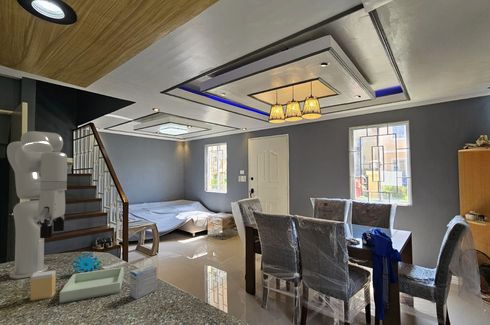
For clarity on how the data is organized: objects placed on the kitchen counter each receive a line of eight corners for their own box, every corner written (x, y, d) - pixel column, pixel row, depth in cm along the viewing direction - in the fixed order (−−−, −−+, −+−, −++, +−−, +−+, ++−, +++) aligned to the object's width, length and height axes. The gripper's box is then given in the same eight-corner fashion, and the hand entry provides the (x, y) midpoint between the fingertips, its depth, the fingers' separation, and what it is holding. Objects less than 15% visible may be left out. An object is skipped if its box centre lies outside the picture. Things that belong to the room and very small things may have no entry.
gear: (74, 275, 98) (73, 253, 104) (70, 283, 100) (69, 261, 106) (104, 270, 106) (101, 251, 112) (99, 278, 108) (97, 258, 114)
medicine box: (149, 287, 91) (149, 264, 91) (156, 290, 88) (157, 266, 88) (129, 296, 84) (129, 271, 84) (136, 299, 82) (136, 274, 82)
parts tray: (73, 283, 95) (73, 274, 95) (124, 275, 102) (124, 266, 102) (59, 303, 80) (59, 292, 80) (119, 292, 87) (119, 282, 87)
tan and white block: (34, 295, 85) (35, 273, 86) (55, 292, 87) (55, 270, 88) (30, 300, 82) (30, 277, 82) (51, 297, 84) (52, 274, 85)
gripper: (52, 185, 93) (51, 229, 93) (27, 188, 77) (26, 242, 76) (74, 184, 96) (74, 228, 95) (55, 187, 79) (54, 239, 78)
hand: (52, 234), depth 86 cm, fingers open, 9 cm apart
